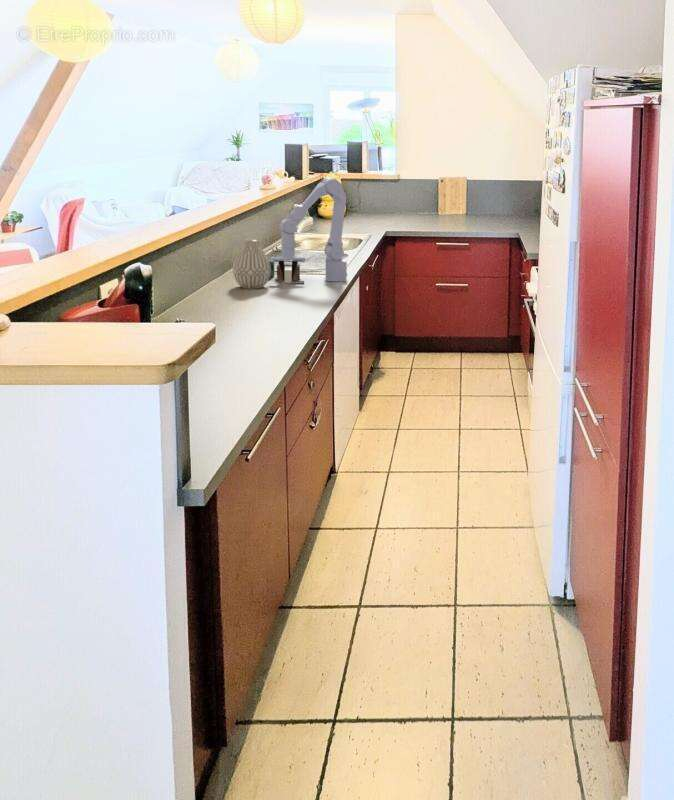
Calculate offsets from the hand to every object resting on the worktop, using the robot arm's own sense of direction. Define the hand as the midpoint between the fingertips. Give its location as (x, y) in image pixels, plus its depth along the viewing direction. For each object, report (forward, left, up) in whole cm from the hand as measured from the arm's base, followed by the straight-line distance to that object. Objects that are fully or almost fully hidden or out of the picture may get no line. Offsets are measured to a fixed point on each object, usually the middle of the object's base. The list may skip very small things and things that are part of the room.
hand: (288, 278), depth 429 cm
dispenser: (0, -9, -1) cm, 9 cm away
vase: (+15, +14, -2) cm, 21 cm away
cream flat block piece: (0, -4, -1) cm, 4 cm away
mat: (-5, +3, -1) cm, 6 cm away
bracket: (+12, -8, -2) cm, 14 cm away
